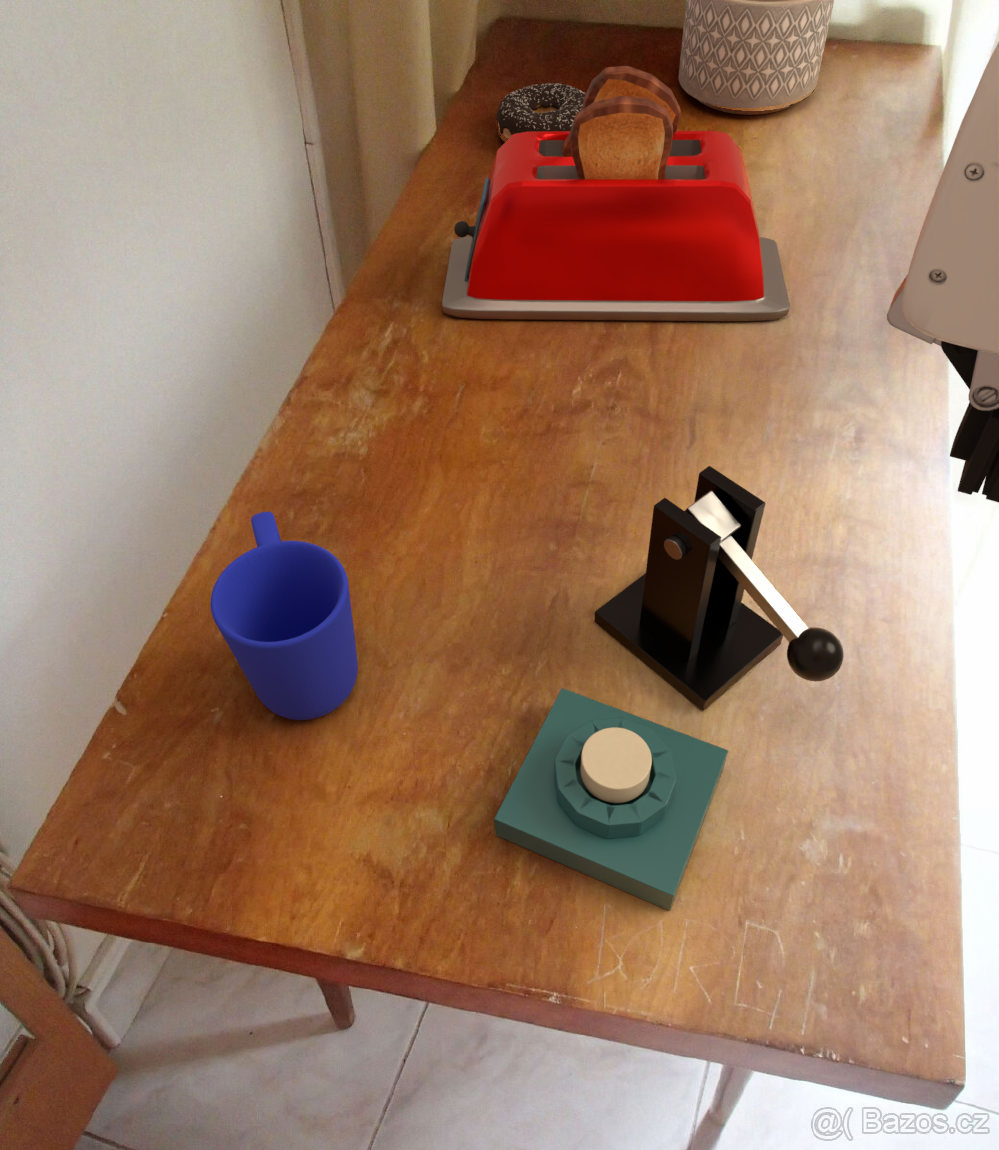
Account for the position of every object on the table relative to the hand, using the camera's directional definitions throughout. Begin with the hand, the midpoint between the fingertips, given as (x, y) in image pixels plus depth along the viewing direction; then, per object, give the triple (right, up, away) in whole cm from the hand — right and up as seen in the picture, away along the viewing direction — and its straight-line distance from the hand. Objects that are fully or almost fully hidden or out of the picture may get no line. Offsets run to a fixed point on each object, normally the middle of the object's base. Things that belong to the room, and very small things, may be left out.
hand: (983, 473), depth 39 cm
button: (-13, -15, +18) cm, 27 cm away
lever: (-4, -5, +21) cm, 22 cm away
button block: (-12, -18, +21) cm, 30 cm away
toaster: (-8, +24, +56) cm, 62 cm away
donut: (-14, +47, +76) cm, 90 cm away
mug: (-33, -10, +29) cm, 45 cm away
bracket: (-6, -8, +29) cm, 31 cm away
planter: (+11, +55, +81) cm, 98 cm away
